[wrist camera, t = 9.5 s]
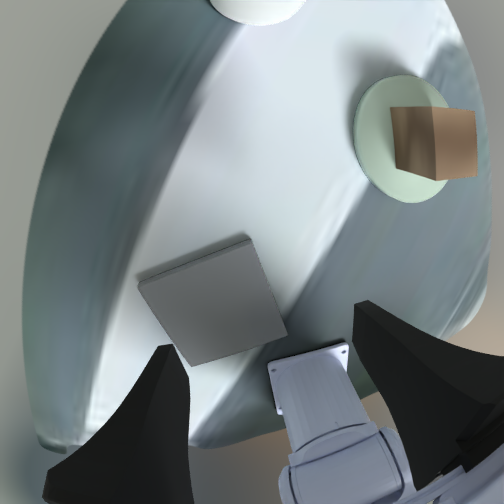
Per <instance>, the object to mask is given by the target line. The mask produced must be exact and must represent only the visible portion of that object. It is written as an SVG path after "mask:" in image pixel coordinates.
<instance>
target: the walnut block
mask: <svg viewBox="0 0 504 504" xmlns="http://www.w3.org/2000/svg"><path fill="white" fill-rule="evenodd" d="M390 112H391V120H392V128H393V138H394V149H395V163H396V169H399V170H403V171H406V172H409V173H413V174H416V175H419V176H422V177H425V178H428V179H431V180H434V181H442V180H449V179H457V178H465V177H473V176H477V134H476V120H475V111H470V110H462V109H454V108H444V107H433V106H412V107H390Z"/></svg>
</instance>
